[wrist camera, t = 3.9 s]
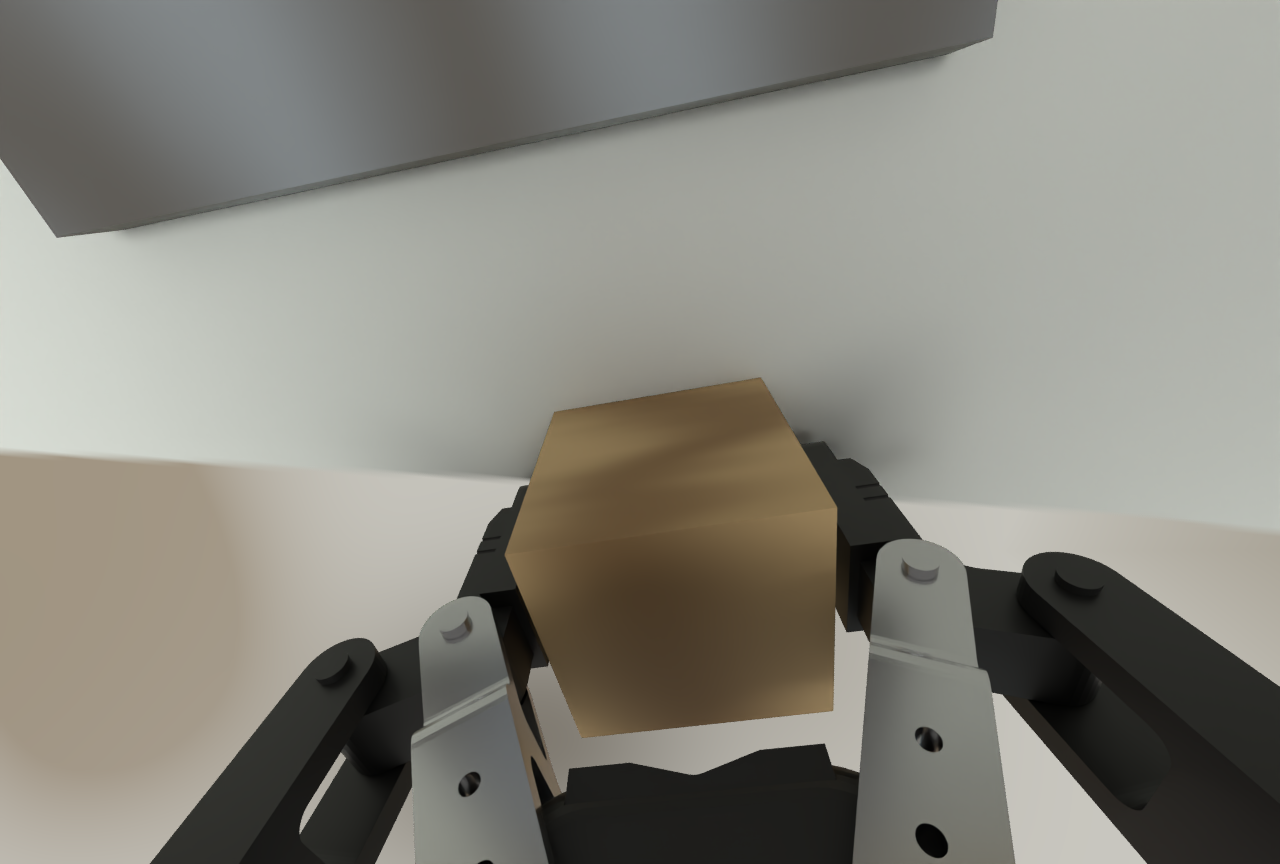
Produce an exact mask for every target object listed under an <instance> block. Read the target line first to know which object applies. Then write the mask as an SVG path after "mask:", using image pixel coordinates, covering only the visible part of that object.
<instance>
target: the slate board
mask: <svg viewBox="0 0 1280 864" xmlns="http://www.w3.org/2000/svg"><path fill="white" fill-rule="evenodd" d="M997 2H998V0H0V159H1V160H2V162H3V163H4V164H5V166H6V167H7V169H8V170H9V171H10V173H11V174H12V176H13V177H14V178H15V180H16V181H17V183H18V184H19V185H20V187H21V188H22V190H23V191H24V192H25V194H26V195H27V197H28V198H29V199H30V201H31V202H32V204H33V205H34V206H35V208H36V209H37V211H38V212H39V213H40V215H41V216H42V218H43V219H44V220H45V222H46V223H47V225H48V226H49V227H50V229H51V230H52V232H53V233H54V234H55V236H56V237H57V238H59V237H67V236H75V235H84V234H92V233H101V232H109V231H118V230H124V229H128V228H133V227H138V226H142V225H147V224H152V223H157V222H161V221H166V220H171V219H175V218H180V217H185V216H189V215H194V214H199V213H203V212H208V211H213V210H218V209H222V208H227V207H232V206H236V205H241V204H246V203H250V202H255V201H260V200H265V199H269V198H274V197H279V196H283V195H288V194H293V193H297V192H302V191H307V190H312V189H316V188H321V187H326V186H330V185H335V184H340V183H344V182H349V181H354V180H358V179H363V178H368V177H373V176H377V175H382V174H387V173H391V172H396V171H401V170H405V169H410V168H415V167H420V166H424V165H429V164H434V163H438V162H443V161H448V160H452V159H457V158H462V157H467V156H471V155H476V154H481V153H485V152H490V151H495V150H499V149H504V148H509V147H513V146H518V145H523V144H528V143H532V142H537V141H542V140H546V139H551V138H556V137H560V136H565V135H570V134H575V133H579V132H584V131H589V130H593V129H598V128H603V127H607V126H612V125H617V124H622V123H626V122H631V121H636V120H640V119H645V118H650V117H654V116H659V115H664V114H668V113H673V112H678V111H683V110H687V109H692V108H697V107H701V106H706V105H711V104H715V103H720V102H725V101H730V100H734V99H739V98H744V97H748V96H753V95H758V94H762V93H767V92H772V91H777V90H781V89H786V88H791V87H795V86H800V85H805V84H809V83H814V82H819V81H823V80H828V79H833V78H838V77H842V76H847V75H852V74H856V73H861V72H866V71H870V70H875V69H880V68H885V67H889V66H894V65H899V64H903V63H908V62H913V61H917V60H922V59H927V58H932V57H936V56H941V55H946V54H949V53H952V52H955V51H957V50H960V49H963V48H965V47H968V46H971V45H973V44H976V43H979V42H982V41H984V40H987V39H990V38H992V37H993V31H994V24H995V17H996V9H997Z"/></svg>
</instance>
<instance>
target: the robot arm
mask: <svg viewBox="0 0 1280 864" xmlns="http://www.w3.org/2000/svg"><path fill="white" fill-rule="evenodd" d="M801 447H802V448H803V450H804V452H805V453H806V455H807V457H808V458H809V460H810V462H811V464H812V465H813V467H814V469H815V470H816V472H817V474H818V475H819V477H820V479H821V481H822V482H823V484H824V486H825V487H826V489H827V491H828V493H829V494H830V496H831V498H832V499H833V501H834V503H835V504H836V506H837V547H836V597H835V607H836V609H837V612H838V614H839V616H840V618H841V621H842V623H843V625H844V627H845V630H846V632H854V631H863V630H864V632H865V634H866V636H867V638H868V640H869V642H870V648H869V661H868V674H867V687H866V699H865V712H864V713H865V714H864V725H863V737H862V750H861V762H860V773H859V772H855V771H852V770H849V769H846V768H842V767H838V766H833V765H831V762H830V759H829V756H828V752H827V749H826V747H825V744H816V745H806V746H795V747H785V748H775V749H765V750H759V751H756V752H754V753H751V754H749V755H746V756H744V757H741V758H739V759H736V760H734V761H732V762H729V763H727V764H724V765H722V766H719V767H717V768H714V769H712V770H709V771H707V772H705V773H702V774H698V775H688V774H683V773H678V772H673V771H668V770H663V769H658V768H653V767H648V766H643V765H638V764H633V763H623V764H614V765H603V766H593V767H582V768H572V769H569V775H568V782H567V791H566V792H564V793H562V792H561V789H560V787H559V785H558V782H557V779H556V776H555V773H554V770H553V767H552V764H551V760H550V757H549V754H548V750H547V747H546V744H545V740H544V736H543V733H542V730H541V726H540V723H539V719H538V716H537V713H536V709H535V706H534V703H533V699H532V696H531V693H530V690H529V688H528V686H527V683H528V679H529V674H530V670H531V668H538V667H546V666H548V663H549V659H548V657H547V654H546V652H545V650H544V647H543V645H542V643H541V640H540V638H539V635H538V633H537V631H536V628H535V626H534V624H533V621H532V619H531V617H530V614H529V612H528V609H527V607H526V605H525V602H524V600H523V598H522V595H521V593H520V590H519V588H518V586H517V583H516V581H515V579H514V576H513V574H512V572H511V569H510V567H509V564H508V562H507V560H506V557H505V552H506V549H507V546H508V543H509V540H510V538H511V535H512V532H513V529H514V526H515V523H516V520H517V517H518V515H519V512H520V509H521V506H522V503H523V500H524V497H525V494H526V492H527V489H528V486H529V485H526V486H521V487H520V488H519V490H518V492H517V495H516V498H515V500H514V503H513V505H512V507H511V508H504V509H502V510H501V511H500V512H499V513H498V514H497V515H496V516H495V517H494V518H493V520H491V521H490V523H489V524H488V526H487V529H486V531H485V533H484V536H483V538H482V539H483V541H482V542H481V543H480V545H479V548H478V550H477V554H476V555H475V557H474V559H473V562H472V564H471V567H470V569H469V571H468V574H467V576H466V578H465V581H464V583H463V585H462V588H461V590H460V592H459V595H458V597H457V599H456V600H453V601H451V602H449V603H447V604H445V605H444V606H442V607H441V608H439V609H438V610H437V611H436V612H434V613H433V614H432V615H431V616H430V617H429V619H428V620H427V621H426V623H425V624H424V626H423V627H422V630H421V632H420V635H419V637H416V638H414V639H412V640H409V641H407V642H404V643H402V644H399V645H396V646H394V647H392V648H389V649H386V650H384V651H381V652H378V651H377V649H376V648H375V646H374V645H373V643H372V642H370V641H369V640H367V639H364V638H355V639H349V640H346V641H343V642H341V643H338V644H336V645H334V646H332V647H331V648H329V649H327V650H326V651H324V652H323V653H321V654H320V655H319V656H318V657H317V658H316V659H314V660H313V661H312V662H311V663H310V664H309V665H308V666H307V668H306V669H305V670H304V671H303V672H302V673H301V675H300V676H299V677H298V679H297V680H296V681H295V682H294V684H293V685H292V686H291V687H290V688H289V690H288V691H287V692H286V693H285V695H284V696H283V697H282V699H281V700H280V701H279V702H278V704H277V705H276V706H275V707H274V709H273V710H272V711H271V712H270V714H269V715H268V716H267V717H266V719H265V720H264V721H263V722H262V724H261V725H260V726H259V727H258V729H257V730H256V732H254V734H253V735H252V736H251V738H250V739H249V740H248V741H247V742H246V744H245V745H244V746H243V747H242V749H241V750H240V751H239V752H238V754H237V755H236V756H235V758H234V759H233V760H232V761H231V763H230V764H229V765H228V766H227V768H226V769H225V770H224V771H223V773H222V774H221V775H220V776H219V778H218V779H217V780H216V781H215V783H214V784H213V785H212V787H211V788H210V789H209V790H208V791H207V793H206V794H205V795H204V796H203V798H202V799H201V800H200V801H199V803H198V804H197V805H196V806H195V808H194V809H193V810H192V811H191V813H190V814H189V815H188V816H187V818H186V819H185V820H184V822H183V823H182V824H181V825H180V827H179V828H178V829H177V830H176V832H175V833H174V834H173V835H172V837H171V838H170V839H169V841H168V842H167V843H166V844H165V846H164V847H163V848H162V849H161V850H160V852H159V853H158V854H157V855H156V857H155V858H154V859H153V860H152V862H151V863H150V864H375V862H376V861H377V858H378V856H379V854H380V852H381V850H382V848H383V846H384V844H385V842H386V840H387V838H388V836H389V833H390V831H391V829H392V827H393V825H394V823H395V821H396V819H397V817H398V815H399V813H400V811H401V808H402V806H403V804H404V802H405V800H406V798H407V796H408V794H409V792H410V790H411V788H413V789H412V792H413V818H414V846H415V864H1015V858H1014V850H1013V843H1012V836H1011V829H1010V821H1009V815H1008V807H1007V800H1006V792H1005V785H1004V778H1003V771H1002V763H1001V756H1000V749H999V742H998V735H997V727H996V720H995V713H994V706H993V698H992V693H997V694H1003V696H1004V697H1005V698H1006V699H1007V700H1008V702H1009V703H1010V704H1011V705H1012V706H1013V707H1014V709H1015V710H1016V711H1017V712H1018V713H1019V714H1020V716H1021V717H1022V718H1023V719H1024V720H1025V721H1026V723H1027V724H1028V725H1029V726H1030V727H1031V728H1032V730H1033V731H1034V732H1035V733H1036V734H1037V735H1038V737H1039V738H1040V739H1041V740H1042V741H1043V742H1044V744H1046V746H1047V747H1048V748H1049V749H1050V751H1051V752H1052V753H1053V754H1054V755H1055V756H1056V758H1057V759H1058V760H1059V761H1060V762H1061V763H1062V764H1063V766H1064V767H1065V768H1066V769H1067V770H1068V772H1069V773H1070V774H1071V775H1072V776H1073V777H1074V779H1075V780H1076V781H1077V782H1078V783H1079V784H1080V786H1081V787H1082V788H1083V789H1084V790H1085V791H1086V793H1087V794H1088V795H1089V796H1090V797H1091V798H1092V800H1093V801H1094V802H1095V803H1096V804H1097V806H1098V807H1099V808H1100V809H1101V810H1102V811H1103V813H1105V815H1106V816H1107V817H1108V818H1109V820H1111V822H1112V823H1113V824H1114V825H1115V827H1116V828H1117V829H1118V830H1119V831H1120V832H1121V834H1123V836H1124V837H1125V838H1126V839H1127V841H1128V842H1129V843H1130V844H1131V845H1132V846H1133V848H1134V849H1135V850H1136V851H1137V852H1138V853H1139V854H1140V856H1141V857H1142V858H1143V859H1144V860H1145V861H1146V863H1147V864H1280V687H1279V686H1278V685H1277V684H1275V683H1274V682H1272V681H1271V680H1270V679H1268V678H1267V677H1265V676H1264V675H1262V674H1261V673H1259V672H1258V671H1257V670H1255V669H1254V668H1252V667H1251V666H1250V665H1248V664H1247V663H1245V662H1244V661H1242V660H1241V659H1240V658H1238V657H1237V656H1235V655H1234V654H1233V653H1231V652H1230V651H1228V650H1227V649H1225V648H1224V647H1223V646H1221V645H1220V644H1218V643H1217V642H1215V641H1214V640H1213V639H1211V638H1210V637H1208V636H1207V635H1206V634H1204V633H1203V632H1201V631H1200V630H1198V629H1197V628H1196V627H1194V626H1193V625H1191V624H1190V623H1188V622H1187V621H1186V620H1184V619H1183V618H1181V617H1180V616H1179V615H1177V614H1176V613H1174V612H1173V611H1171V610H1170V609H1169V608H1167V607H1166V606H1164V605H1163V604H1161V603H1160V602H1159V601H1157V600H1156V599H1154V598H1153V597H1151V596H1150V595H1149V594H1147V593H1146V592H1144V591H1143V590H1141V589H1140V588H1138V587H1137V586H1136V585H1134V584H1133V583H1131V582H1130V581H1129V580H1127V579H1126V578H1124V577H1123V576H1122V575H1120V574H1119V573H1117V572H1116V571H1114V570H1113V569H1111V568H1109V567H1107V566H1106V565H1103V564H1102V563H1099V562H1097V561H1095V560H1092V559H1089V558H1086V557H1083V556H1079V555H1075V554H1070V553H1064V552H1045V553H1039V554H1037V555H1034V556H1032V557H1030V558H1029V559H1028V560H1027V561H1026V562H1025V563H1024V565H1023V569H1022V573H1016V572H1007V571H997V570H988V569H980V568H973V567H969V566H965V565H963V563H962V562H961V561H960V559H959V558H958V557H957V556H956V555H954V554H953V553H952V552H950V551H949V550H947V549H946V548H944V547H942V546H940V545H937V544H935V543H932V542H929V541H924V540H922V538H921V537H920V536H919V535H918V533H917V532H916V531H915V529H914V528H913V527H912V525H911V524H910V523H909V521H908V520H907V519H906V517H905V516H904V515H903V514H902V512H901V511H900V510H899V508H898V507H897V506H896V504H895V503H894V502H893V500H892V499H891V498H889V497H888V494H887V493H886V491H885V490H884V489H883V487H882V486H880V485H879V482H878V481H877V479H876V478H875V477H874V476H873V474H872V473H871V472H870V470H869V469H868V468H866V467H864V466H863V465H861V464H859V463H858V462H856V461H854V460H853V459H851V458H848V459H841V460H837V459H836V458H835V456H834V455H833V453H832V452H831V450H830V449H829V447H828V446H827V444H826V443H825V442H823V441H822V442H815V443H809V444H802V445H801ZM340 752H341V753H342V754H343V755H344V756H345V757H346V760H345V761H344V763H343V765H342V766H341V768H340V770H339V771H338V773H337V775H336V776H335V778H334V779H333V781H332V783H331V784H330V786H329V788H328V789H327V791H326V793H325V794H324V796H323V798H322V799H321V801H320V802H319V804H318V806H317V807H316V809H315V811H314V812H313V814H312V816H311V817H310V819H309V821H308V822H307V824H306V825H305V827H304V829H303V830H302V832H301V834H300V835H299V828H300V823H301V819H302V816H303V813H304V811H305V809H306V807H307V805H308V804H309V802H310V800H311V799H312V797H313V795H314V794H315V792H316V791H317V789H318V788H319V786H320V784H321V783H322V781H323V780H324V778H325V776H326V775H327V773H328V771H329V770H330V768H331V767H332V765H333V764H334V762H335V760H336V759H337V757H338V756H339V754H340Z"/></svg>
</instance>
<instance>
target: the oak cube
mask: <svg viewBox="0 0 1280 864" xmlns="http://www.w3.org/2000/svg"><path fill="white" fill-rule="evenodd" d="M836 547H837V506H836V504H835V503H834V501H833V499H832V498H831V496H830V494H829V493H828V491H827V489H826V487H825V486H824V484H823V482H822V481H821V479H820V477H819V475H818V474H817V472H816V470H815V469H814V467H813V465H812V464H811V462H810V460H809V458H808V457H807V455H806V453H805V452H804V450H803V448H802V447H801V445H800V443H799V441H798V440H797V438H796V436H795V435H794V433H793V431H792V430H791V428H790V426H789V424H788V423H787V421H786V419H785V418H784V416H783V414H782V413H781V411H780V409H779V407H778V406H777V404H776V402H775V401H774V399H773V397H772V396H771V394H770V392H769V390H768V389H767V387H766V385H765V384H764V382H763V380H762V379H761V378H756V379H749V380H743V381H737V382H731V383H725V384H719V385H713V386H707V387H701V388H695V389H689V390H683V391H677V392H671V393H665V394H659V395H653V396H647V397H641V398H635V399H629V400H623V401H617V402H611V403H605V404H599V405H593V406H587V407H581V408H575V409H569V410H563V411H557V412H554V414H553V417H552V420H551V423H550V425H549V428H548V431H547V434H546V437H545V440H544V443H543V446H542V448H541V451H540V454H539V457H538V460H537V463H536V466H535V469H534V471H533V474H532V477H531V480H530V483H529V486H528V489H527V492H526V494H525V497H524V500H523V503H522V506H521V509H520V512H519V515H518V517H517V520H516V523H515V526H514V529H513V532H512V535H511V538H510V540H509V543H508V546H507V549H506V552H505V557H506V560H507V562H508V564H509V567H510V569H511V572H512V574H513V576H514V579H515V581H516V583H517V586H518V588H519V590H520V593H521V595H522V598H523V600H524V602H525V605H526V607H527V609H528V612H529V614H530V617H531V619H532V621H533V624H534V626H535V628H536V631H537V633H538V635H539V638H540V640H541V643H542V645H543V647H544V650H545V652H546V654H547V657H548V659H549V661H550V664H551V666H552V668H553V671H554V673H555V676H556V678H557V680H558V683H559V685H560V688H561V690H562V692H563V694H564V697H565V699H566V702H567V704H568V706H569V709H570V711H571V714H572V716H573V718H574V721H575V723H576V725H577V728H578V730H579V733H580V735H581V737H582V738H587V737H595V736H605V735H614V734H624V733H633V732H641V731H652V730H661V729H669V728H679V727H688V726H698V725H707V724H717V723H726V722H735V721H744V720H752V719H763V718H772V717H780V716H791V715H800V714H809V713H819V712H828V711H833V697H834V692H833V691H834V646H835V597H836Z"/></svg>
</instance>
